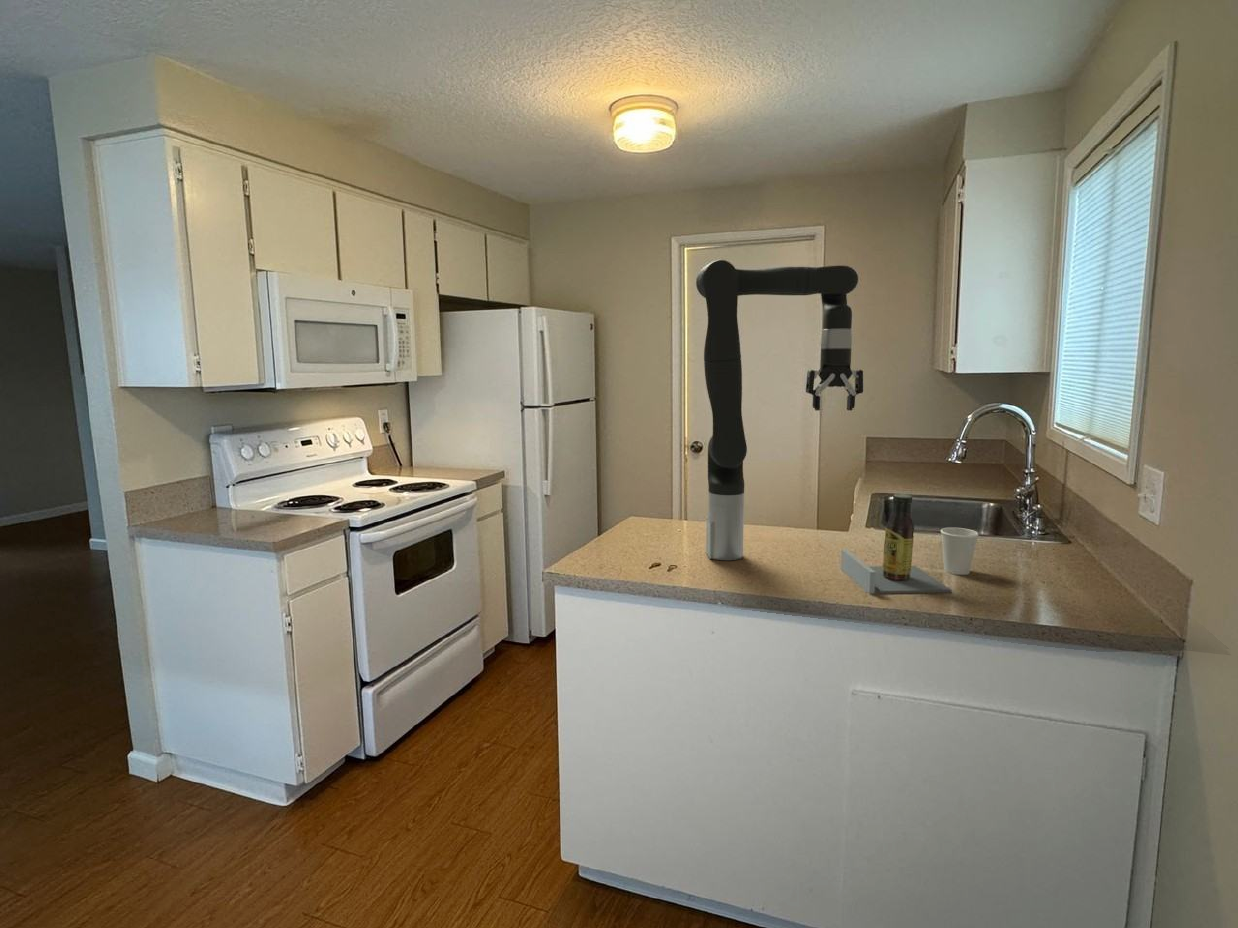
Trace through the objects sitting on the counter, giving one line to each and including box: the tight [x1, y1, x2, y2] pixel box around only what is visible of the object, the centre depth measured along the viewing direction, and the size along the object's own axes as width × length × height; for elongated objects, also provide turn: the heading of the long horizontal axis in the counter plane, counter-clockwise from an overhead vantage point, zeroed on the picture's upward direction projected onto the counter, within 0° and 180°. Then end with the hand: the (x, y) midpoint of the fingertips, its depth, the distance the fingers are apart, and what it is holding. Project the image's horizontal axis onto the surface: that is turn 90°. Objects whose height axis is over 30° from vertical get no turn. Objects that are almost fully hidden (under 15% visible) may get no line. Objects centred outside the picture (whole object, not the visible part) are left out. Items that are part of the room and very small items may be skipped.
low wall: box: [840, 549, 876, 595], centre depth 166 cm, size 1×18×5 cm, turn 2°
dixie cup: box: [940, 527, 979, 576], centre depth 172 cm, size 8×8×10 cm
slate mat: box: [869, 565, 952, 595], centre depth 166 cm, size 16×18×1 cm
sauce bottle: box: [882, 493, 915, 580], centre depth 165 cm, size 7×6×20 cm
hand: (833, 410), depth 184 cm, fingers open, 8 cm apart
